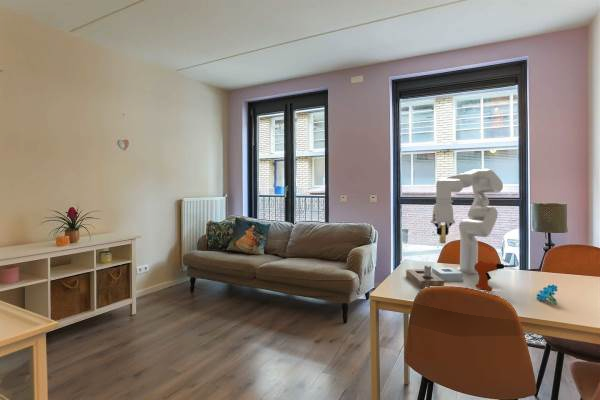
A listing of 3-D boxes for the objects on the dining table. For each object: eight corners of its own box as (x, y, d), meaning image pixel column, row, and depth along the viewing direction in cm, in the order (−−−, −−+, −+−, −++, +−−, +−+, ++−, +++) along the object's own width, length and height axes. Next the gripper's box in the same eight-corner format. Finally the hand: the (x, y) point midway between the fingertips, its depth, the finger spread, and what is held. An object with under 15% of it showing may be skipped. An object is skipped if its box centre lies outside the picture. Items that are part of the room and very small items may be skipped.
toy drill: (519, 291, 166) (515, 261, 166) (475, 291, 175) (472, 262, 175) (517, 288, 171) (514, 259, 171) (475, 288, 179) (472, 260, 179)
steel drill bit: (429, 284, 181) (429, 265, 181) (431, 285, 178) (432, 266, 178) (423, 284, 181) (423, 265, 181) (425, 285, 178) (425, 267, 178)
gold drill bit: (444, 242, 193) (444, 224, 192) (446, 243, 189) (447, 225, 189) (438, 242, 192) (438, 224, 192) (440, 243, 189) (441, 225, 189)
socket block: (452, 275, 199) (452, 267, 199) (462, 282, 187) (462, 273, 187) (431, 276, 199) (432, 267, 199) (440, 282, 187) (440, 273, 187)
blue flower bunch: (533, 292, 165) (552, 280, 161) (543, 301, 164) (562, 289, 160) (537, 302, 156) (557, 290, 151) (548, 312, 155) (569, 300, 150)
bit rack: (427, 277, 196) (427, 269, 196) (443, 290, 174) (444, 280, 174) (406, 278, 196) (406, 269, 195) (420, 290, 174) (420, 281, 173)
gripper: (454, 201, 194) (453, 233, 195) (426, 201, 193) (425, 233, 194) (461, 202, 186) (460, 235, 187) (431, 202, 186) (430, 235, 187)
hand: (442, 234), depth 191 cm, fingers closed on gold drill bit, 3 cm apart
